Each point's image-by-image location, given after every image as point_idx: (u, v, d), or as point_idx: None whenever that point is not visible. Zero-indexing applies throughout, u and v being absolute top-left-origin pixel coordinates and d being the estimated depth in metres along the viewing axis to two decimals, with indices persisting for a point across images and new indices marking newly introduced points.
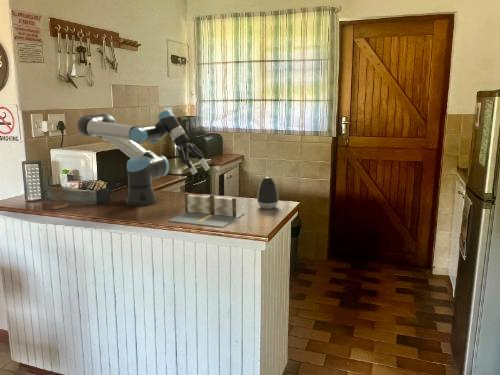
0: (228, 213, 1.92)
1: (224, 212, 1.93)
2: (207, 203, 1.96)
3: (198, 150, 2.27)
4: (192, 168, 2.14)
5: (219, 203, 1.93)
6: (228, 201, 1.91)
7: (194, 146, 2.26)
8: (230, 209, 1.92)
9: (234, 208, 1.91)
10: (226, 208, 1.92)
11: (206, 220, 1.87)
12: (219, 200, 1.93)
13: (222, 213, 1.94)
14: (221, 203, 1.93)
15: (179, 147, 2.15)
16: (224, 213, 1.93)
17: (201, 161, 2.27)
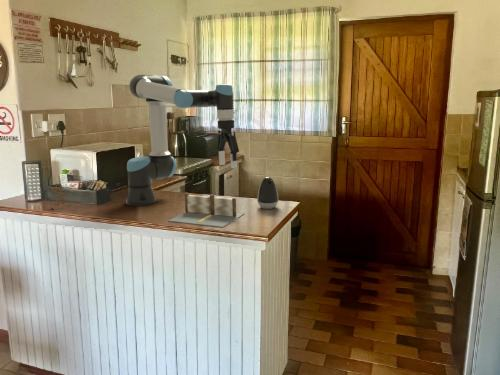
0: (228, 213, 1.92)
1: (224, 212, 1.93)
2: (207, 203, 1.96)
3: None
4: (235, 162, 1.90)
5: (219, 203, 1.93)
6: (228, 201, 1.91)
7: None
8: (230, 209, 1.92)
9: (234, 208, 1.91)
10: (226, 208, 1.92)
11: (206, 220, 1.87)
12: (219, 200, 1.93)
13: (222, 213, 1.94)
14: (221, 203, 1.93)
15: (233, 133, 1.88)
16: (224, 213, 1.93)
17: (221, 153, 2.01)
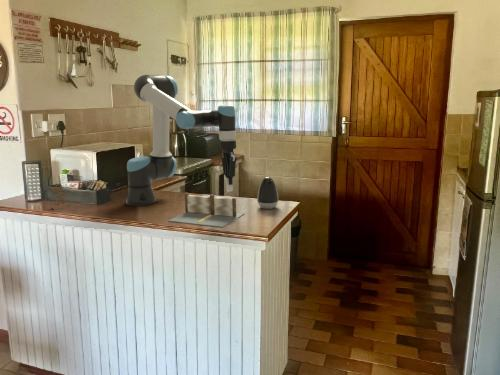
0: (228, 213, 1.92)
1: (224, 212, 1.93)
2: (207, 203, 1.96)
3: None
4: (231, 185, 1.97)
5: (219, 203, 1.93)
6: (228, 201, 1.91)
7: None
8: (230, 209, 1.92)
9: (234, 208, 1.91)
10: (226, 208, 1.92)
11: (206, 220, 1.87)
12: (219, 200, 1.93)
13: (222, 213, 1.94)
14: (221, 203, 1.93)
15: (234, 159, 1.90)
16: (224, 213, 1.93)
17: None
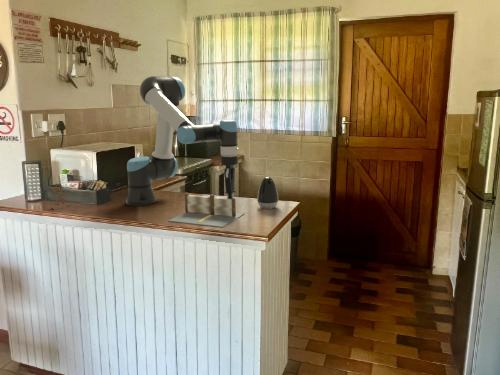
0: (228, 214, 1.92)
1: (223, 212, 1.93)
2: (207, 203, 1.96)
3: (234, 180, 1.96)
4: None
5: (219, 203, 1.93)
6: (227, 201, 1.91)
7: (234, 173, 1.96)
8: (229, 209, 1.91)
9: (233, 208, 1.90)
10: (225, 208, 1.92)
11: (206, 220, 1.87)
12: (218, 200, 1.93)
13: (222, 213, 1.93)
14: (220, 203, 1.93)
15: (228, 176, 1.86)
16: (224, 213, 1.93)
17: None
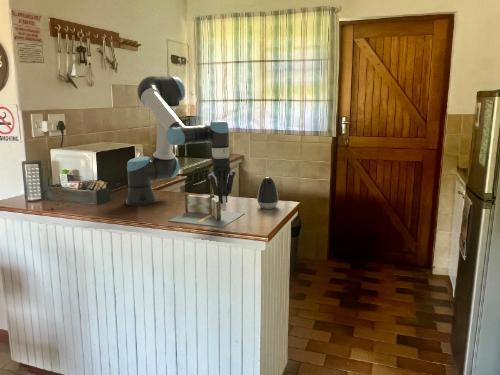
0: (215, 216, 1.88)
1: (214, 214, 1.90)
2: (207, 203, 1.96)
3: (230, 183, 1.88)
4: (222, 204, 1.88)
5: (212, 204, 1.91)
6: (215, 203, 1.87)
7: (231, 176, 1.88)
8: (216, 212, 1.87)
9: (217, 212, 1.85)
10: (215, 210, 1.89)
11: (206, 220, 1.87)
12: (212, 201, 1.91)
13: (214, 215, 1.91)
14: (213, 205, 1.91)
15: (210, 178, 1.83)
16: (214, 215, 1.90)
17: None
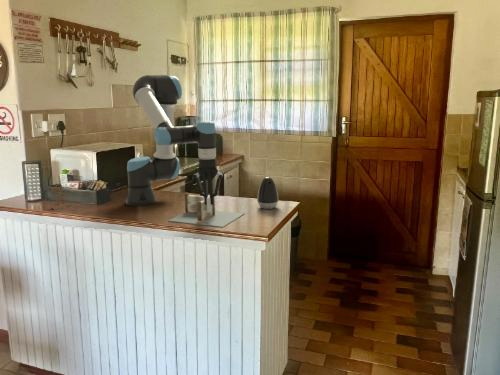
0: None
1: None
2: None
3: (216, 185, 1.83)
4: None
5: None
6: None
7: (217, 179, 1.83)
8: None
9: None
10: None
11: (206, 220, 1.87)
12: None
13: None
14: None
15: None
16: None
17: None
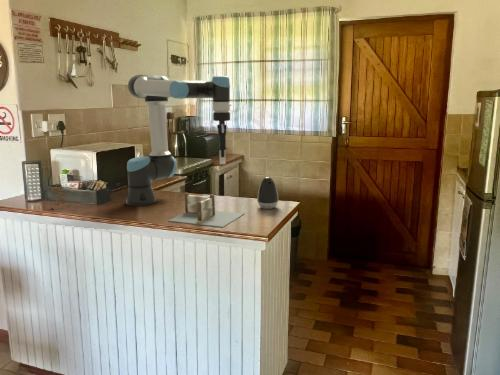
0: None
1: None
2: None
3: None
4: (223, 158, 1.95)
5: None
6: None
7: None
8: None
9: None
10: None
11: (206, 220, 1.87)
12: None
13: None
14: None
15: (224, 131, 1.87)
16: None
17: None
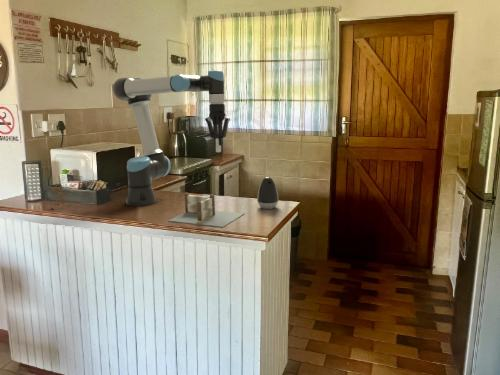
0: None
1: None
2: None
3: (212, 127, 2.13)
4: (220, 146, 2.12)
5: None
6: None
7: (210, 121, 2.12)
8: None
9: None
10: None
11: (206, 220, 1.87)
12: None
13: None
14: None
15: (228, 120, 2.08)
16: None
17: None
